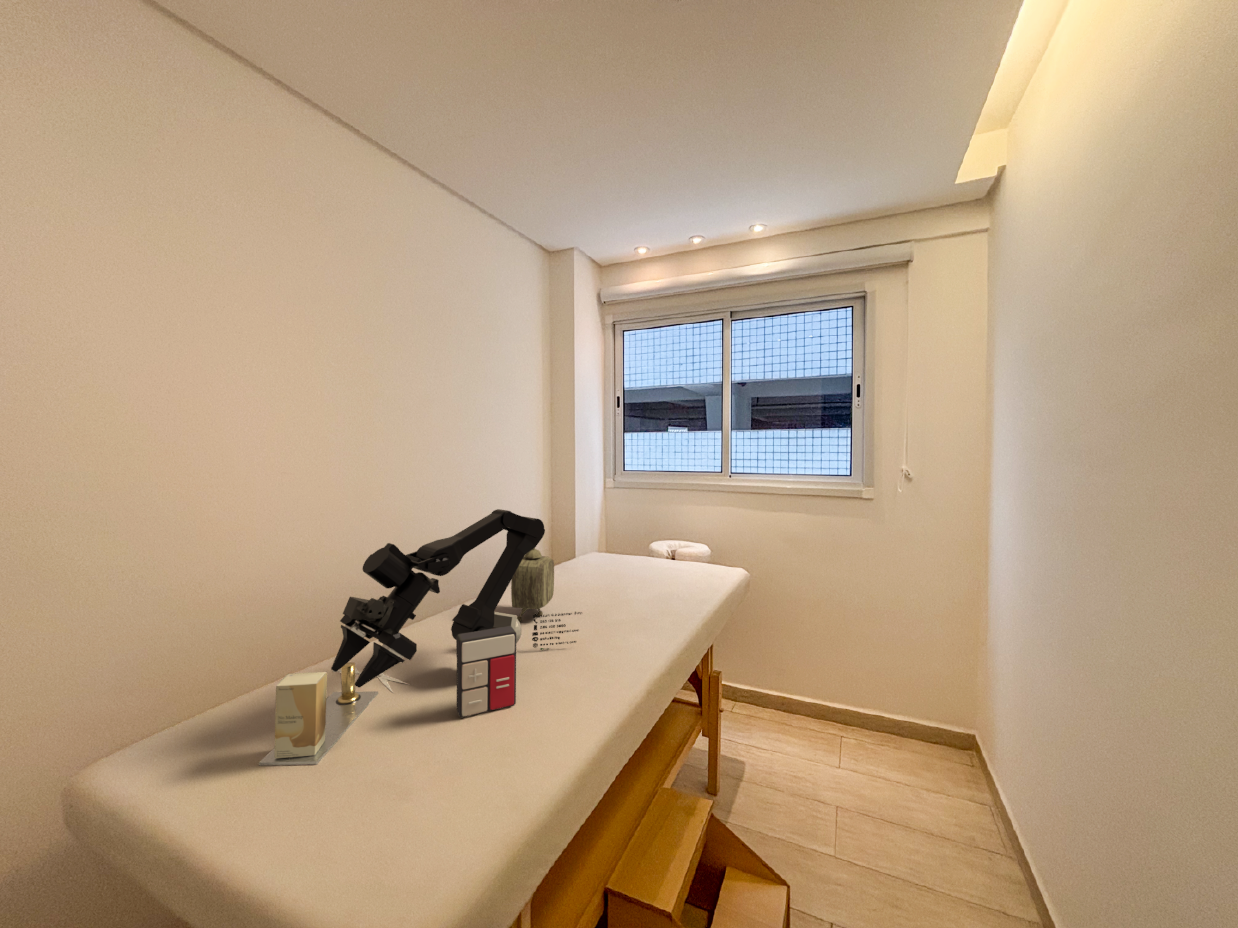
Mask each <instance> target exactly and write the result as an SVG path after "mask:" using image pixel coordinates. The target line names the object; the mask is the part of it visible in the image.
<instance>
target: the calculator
mask: <svg viewBox="0 0 1238 928" xmlns="http://www.w3.org/2000/svg"><path fill="white" fill-rule="evenodd" d="M455 641H456V646H455V649H456V712H457V716H458V717H459V718H466V717H471V716H473V715H474V716H475V715H478V714H479V715H480V714H484V713H488V712H492V711H496V710H500V709H503V708H504V709H505V708H507V707H511V706H512V707H513V706H515V705H516V703H517V702H516V701H517V698H516V697H517V643H516V632H515V630H514V629H513V628H512V627H511V626H506V627H500V628H494V629H487V630H481V631H475V632H469V633H462V634H458V635H457V636H456V640H455Z"/></svg>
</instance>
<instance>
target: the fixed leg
mask: <svg viewBox="0 0 1238 928" xmlns="http://www.w3.org/2000/svg"><path fill="white" fill-rule="evenodd" d="M355 668H356V663H355V662H354V661H351V662H350V661H349V662H348V663H346V664H345V665H344V666H343V667H342V668H340V670H341V674H340V676H341V677H340V679H341V682H340V683H341V691H340V692H341V696H340V697H339V698H338V703H340V704H348V703H352V702H354V701H356V700H357V699H358V698H359V694H358V693H356V692H357V691H356V686H355V682H356V674H355Z"/></svg>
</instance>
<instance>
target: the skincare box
mask: <svg viewBox="0 0 1238 928" xmlns="http://www.w3.org/2000/svg"><path fill="white" fill-rule="evenodd" d="M327 679H328V672H327V671H319V672H310V671H309V672H301V673H300V672H299V673H297V672H296V673H287V674H286V675H285V676H284V677H283V678H282V679H281V680H280V681H279V682H278V683H277V684H276V685H275V712H274V716H275V717H274V719H275V720H274V721H275V722H274V748H275V753H274V758H288V757H301V756H312V755H316V753H317V752H318V750H319V749H320V747H321V746H322V744H323V743H324V741H325V726H326V698H327V691H328V690H327V689H328V688H327V687H328V686H327V684H328V681H327Z"/></svg>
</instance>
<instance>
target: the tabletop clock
mask: <svg viewBox="0 0 1238 928" xmlns="http://www.w3.org/2000/svg"><path fill="white" fill-rule="evenodd" d="M510 583H511V584H510V586H511V587H510V589H511V591H510V592H511V593H510V597H511V606H512V608H514V609H521V612H520V614H519V615H517V619H518V621H519V622H520V623H521V621H522V618H523V617H522V616H523V615H524V613H525V612H526V611H527V610H530V609H531V610H537V613H536V614H537V615H538V617H539V616H542V617H543V615H544V614H543V613H544V612H543V611H541V609H542V608H544V607H546V606H547V605H548V604H549V603H550V602H551V600H552V598H553V597H554V591H555V590H554V589H555V560H554V559H552V558H551V557H549V556H543V555H542V553H541V551H540V550H539V549H537V548H536V547H535V548H534V549H532V550H531V551H529V552H528V553H527V554H525V556H524V557H523V559H522V561H521V563H520V565H519V566H518V568H517V570H516V572H515V574H514V576H513V577H512V579H511V581H510Z"/></svg>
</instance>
